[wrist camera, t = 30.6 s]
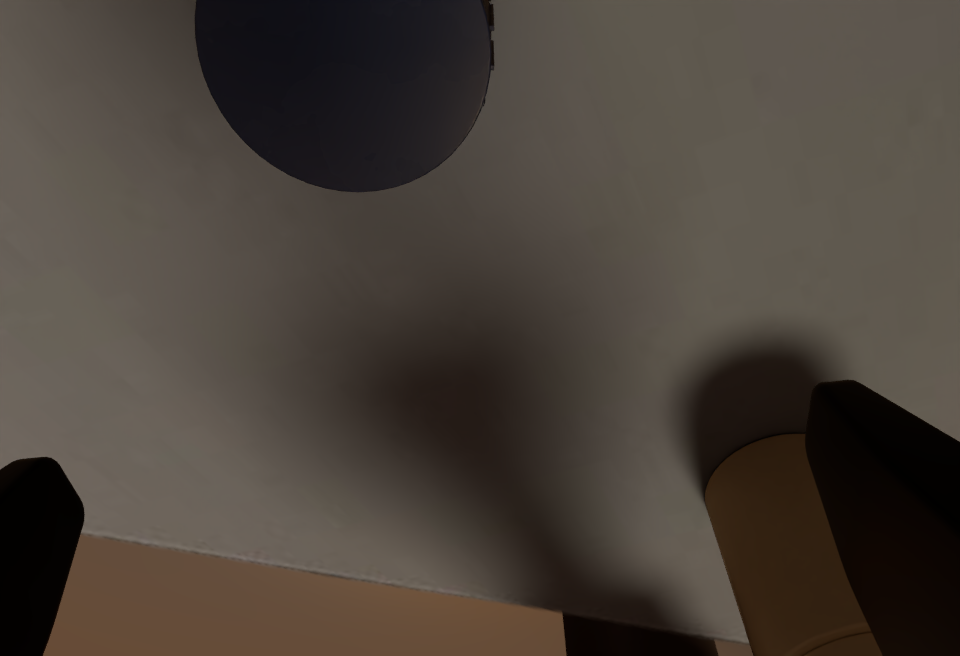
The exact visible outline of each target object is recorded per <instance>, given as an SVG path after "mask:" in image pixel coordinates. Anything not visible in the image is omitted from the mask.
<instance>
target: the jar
mask: <svg viewBox="0 0 960 656" xmlns="http://www.w3.org/2000/svg"><path fill="white" fill-rule="evenodd" d="M705 505H706V508H707V512H708V515H709V518H710V521H711V524H712V527H713V530H714V534H715V537H716V540H717V543H718V546H719V549H720V552H721V555H722V559H723V562H724V565H725V568H726V571H727V574H728V577H729V581H730V584H731V587H732V590H733V593H734V596H735V599H736V602H737V606H738V609H739V612H740V615H741V618H742V621H743V624H744V628H745V631H746V634H747V637H748V640H749V643H750V646H751V649H752V653H753V656H883V655H882V653H881V651H880V649H879V647H878V645H877V642H876V640H875V638H874V636H873V634H872V632H871V630H870V627H869V625H868V623H867V621H866V619H865V617H864V615H863V612H862V610H861V608H860V606H859V604H858V602H857V599H856V597H855V595H854V592H853V590H852V588H851V586H850V583H849V581H848V579H847V576H846V573H845V570H844V567H843V564H842V562H841V559H840V556H839V553H838V550H837V547H836V544H835V541H834V538H833V535H832V532H831V529H830V525H829V522H828V519H827V516H826V513H825V510H824V507H823V504H822V501H821V498H820V495H819V492H818V489H817V486H816V483H815V480H814V477H813V474H812V471H811V468H810V465H809V462H808V458H807V454H806V449H805V434H783V435H777V436H772V437H768V438H764V439H761V440H759V441H756V442H753V443H751V444H749V445H747V446H745V447H743V448H741V449H739V450H738V451H736V452H734V453H733V454H732V455H730V456H729V457H728V458H726V459H725V460H724V461H723V462H722V463H721V464H720V465H719V466H718V467H717V469H716V470H715V471H714V473H713V474H712V476H711V477H710V480H709V482H708V484H707V488H706V492H705Z"/></svg>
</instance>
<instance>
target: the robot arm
mask: <svg viewBox="0 0 960 656" xmlns="http://www.w3.org/2000/svg"><path fill="white" fill-rule="evenodd" d="M805 449H806V454H807V458H808V462H809V465H810V468H811V471H812V474H813V477H814V480H815V483H816V486H817V489H818V492H819V495H820V498H821V501H822V504H823V507H824V510H825V513H826V516H827V519H828V522H829V525H830V529H831V532H832V535H833V538H834V541H835V544H836V547H837V550H838V553H839V556H840V559H841V562H842V564H843V567H844V570H845V573H846V576H847V579H848V581H849V583H850V586H851V588H852V590H853V592H854V595H855V597H856V599H857V602H858V604H859V606H860V608H861V610H862V612H863V615H864V617H865V619H866V621H867V623H868V625H869V627H870V630H871V632H872V634H873V636H874V638H875V640H876V642H877V645H878V647H879V649H880V651H881V653H882V655H883V656H960V442H959V441H957V440H956V439H954V438H952V437H951V436H949V435H947V434H945V433H944V432H942V431H940V430H939V429H937V428H935V427H934V426H932V425H930V424H929V423H927V422H925V421H923V420H922V419H920V418H918V417H917V416H915V415H913V414H912V413H910V412H908V411H907V410H905V409H903V408H901V407H900V406H898V405H896V404H895V403H893V402H891V401H890V400H888V399H886V398H884V397H883V396H881V395H879V394H878V393H876V392H874V391H873V390H871V389H869V388H868V387H866V386H864V385H862V384H861V383H859V382H857V381H854V380H841V381H831V382H821V383H819V384H817V385H816V386H815V387H814V389H813V391H812V394H811V400H810V407H809V413H808V420H807V427H806V434H805ZM83 523H84V507H83V503H82V501H81V499H80V497H79V496H78V494H77V493H76V491H75V489H74V488H73V486H72V484H71V483H70V481H69V479H68V478H67V476H66V475H65V473H64V471H63V470H62V468H61V466H60V465H59V464H58V462H56V461H55V460H54V459H52V458H49V457H37V458H27V459H20V460H16V461H13V462H11V463H10V464H8V465H7V466H5V467H4V468H2V469H1V470H0V656H43V653H44V651H45V648H46V646H47V643H48V640H49V637H50V634H51V631H52V628H53V625H54V622H55V619H56V615H57V612H58V609H59V605H60V602H61V598H62V595H63V592H64V588H65V585H66V581H67V578H68V574H69V571H70V568H71V564H72V561H73V558H74V554H75V551H76V547H77V544H78V541H79V537H80V534H81V530H82V527H83Z"/></svg>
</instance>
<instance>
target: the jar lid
mask: <svg viewBox="0 0 960 656" xmlns="http://www.w3.org/2000/svg"><path fill="white" fill-rule="evenodd" d="M491 31H494V9H493V4H489V0H196V9H195V38H196V45H197V51H198V57H199V61H200V65H201V68H202V72H203V75H204V78H205V80H206V83H207V85H208V88H209V90H210V93H211V95H212V97H213V99H214V101H215V102H216V104H217V106H218V108H219V110H220V111H221V113H222V114H223V116H224V117H225V119H226V120H227V122H228V123H229V124H230V126H231V127H232V129H233V130H234V131H235V132H236V133H237V134H238V135H239V136H240V138H241V139H242V140H243V141H244V142H245V143H246V144H247V145H248V146H249V147H250V148H251V149H252V150H254V151H255V152H256V153H257V154H258V155H259V156H260V157H262V158H263V159H265V160H266V161H267V162H269V163H270V164H271V165H273V166H274V167H276V168H278V169H279V170H281V171H283V172H285V173H286V174H288V175H290V176H292V177H294V178H297V179H299V180H301V181H304V182H306V183H309V184H312V185H316V186H319V187H322V188H326V189H332V190H338V191H347V192H369V191H379V190H384V189H389V188H394V187H397V186H400V185H403V184H406V183H409V182H411V181H413V180H415V179H417V178H420V177H422V176H424V175H425V174H427V173H428V172H430V171H431V170H433V169H435V168H436V167H438V166H439V165H440V164H441V163H442V162H444V161H445V160H446V159H447V158H448V157H449V156H450V155H452V154H453V152H454V151H455V150H456V149H457V148H458V147H459V146H460V144H461V143H462V142H463V141H464V139H465V138H466V136H467V135H468V133H469V132H470V130H471V129H472V127H473V125H474V123H475V121H476V119H477V117H478V115H479V113H480V111H481V108H482V106H484V104H485V96H486V93H487V89H488V83H489V78H490V71H491V70H494V41H493V40H491Z"/></svg>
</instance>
